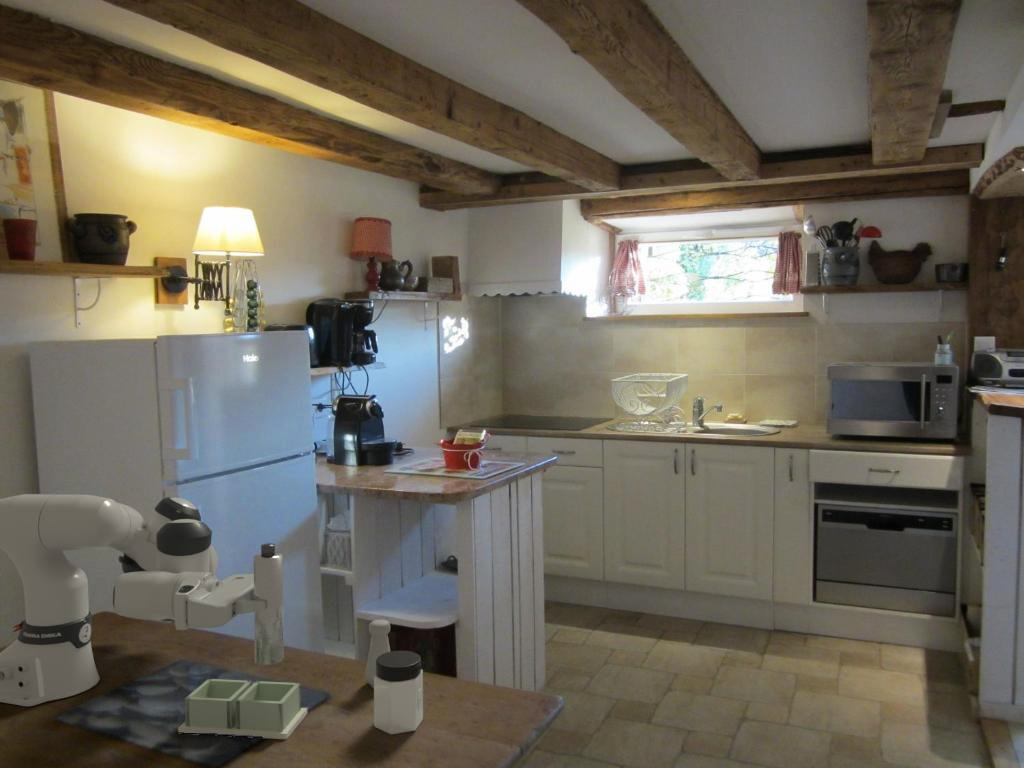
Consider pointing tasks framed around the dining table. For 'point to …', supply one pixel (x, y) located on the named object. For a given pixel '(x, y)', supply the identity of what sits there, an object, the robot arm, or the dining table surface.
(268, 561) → the pepper mill
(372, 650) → the salt shaker
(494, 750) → the dining table surface
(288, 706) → the green divided tray
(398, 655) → the jar
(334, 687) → the dining table surface
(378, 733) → the dining table surface
